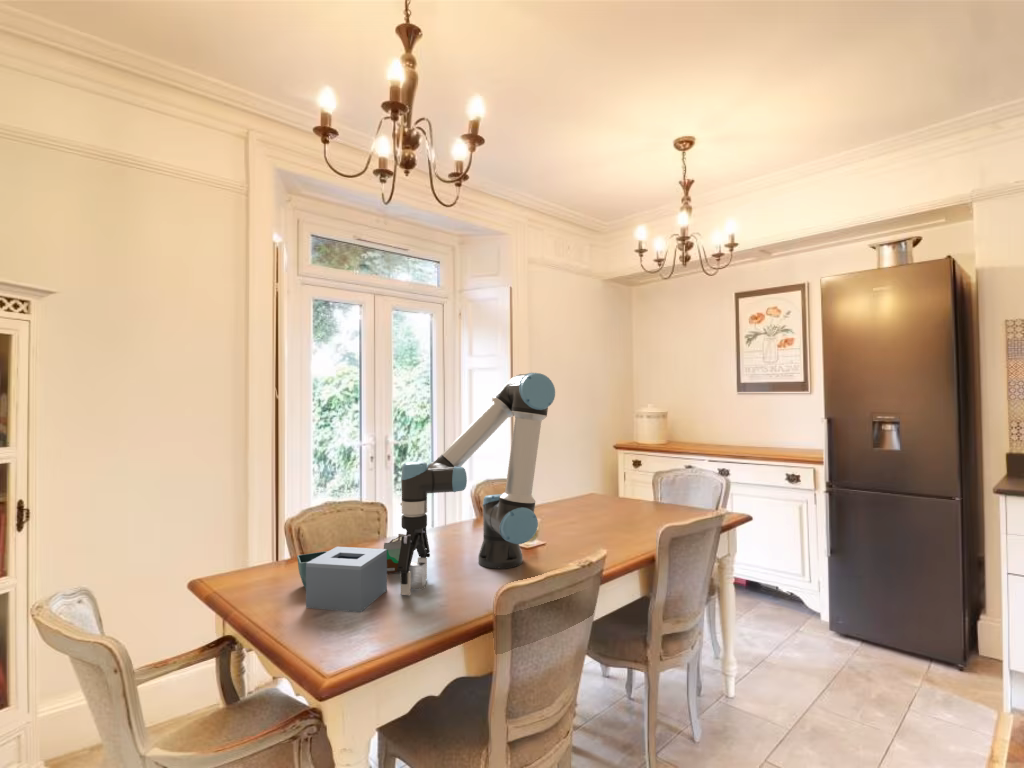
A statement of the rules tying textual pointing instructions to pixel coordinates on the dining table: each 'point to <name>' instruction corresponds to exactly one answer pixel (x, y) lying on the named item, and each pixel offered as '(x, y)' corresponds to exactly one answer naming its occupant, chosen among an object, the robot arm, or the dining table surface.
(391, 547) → the food container
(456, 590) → the dining table surface
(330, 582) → the coin box
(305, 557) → the flower pot
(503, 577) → the dining table surface
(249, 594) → the dining table surface
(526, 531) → the robot arm
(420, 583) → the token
